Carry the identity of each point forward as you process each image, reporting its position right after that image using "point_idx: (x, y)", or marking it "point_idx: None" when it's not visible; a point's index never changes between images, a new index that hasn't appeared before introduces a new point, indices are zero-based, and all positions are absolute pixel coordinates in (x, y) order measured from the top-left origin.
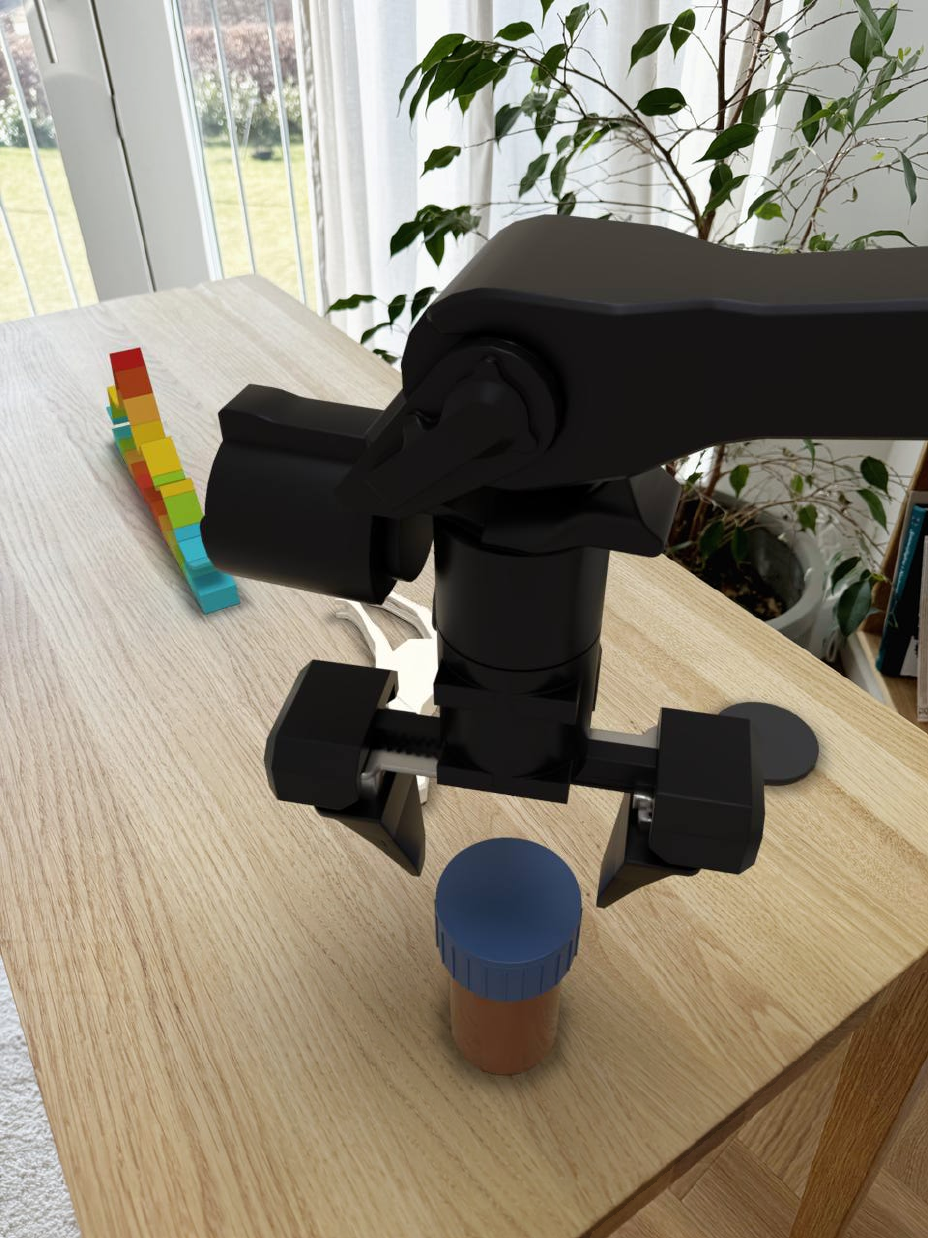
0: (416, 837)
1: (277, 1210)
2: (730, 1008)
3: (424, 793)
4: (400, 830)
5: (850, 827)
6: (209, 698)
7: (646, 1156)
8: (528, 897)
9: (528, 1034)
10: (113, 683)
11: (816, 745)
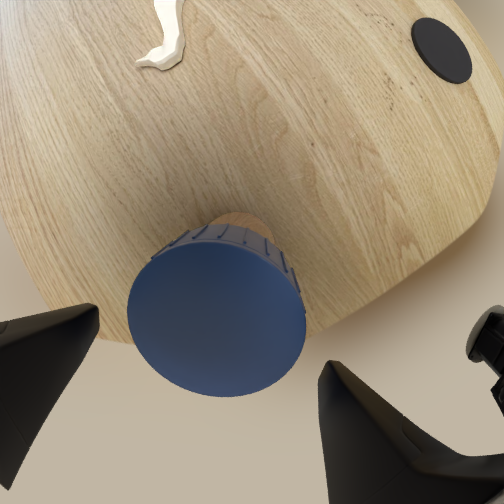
0: (58, 360)
1: (126, 337)
2: (390, 244)
3: (176, 57)
4: (29, 428)
5: (478, 126)
6: (54, 24)
7: (316, 327)
8: (237, 337)
9: None
10: (18, 38)
11: (471, 65)
